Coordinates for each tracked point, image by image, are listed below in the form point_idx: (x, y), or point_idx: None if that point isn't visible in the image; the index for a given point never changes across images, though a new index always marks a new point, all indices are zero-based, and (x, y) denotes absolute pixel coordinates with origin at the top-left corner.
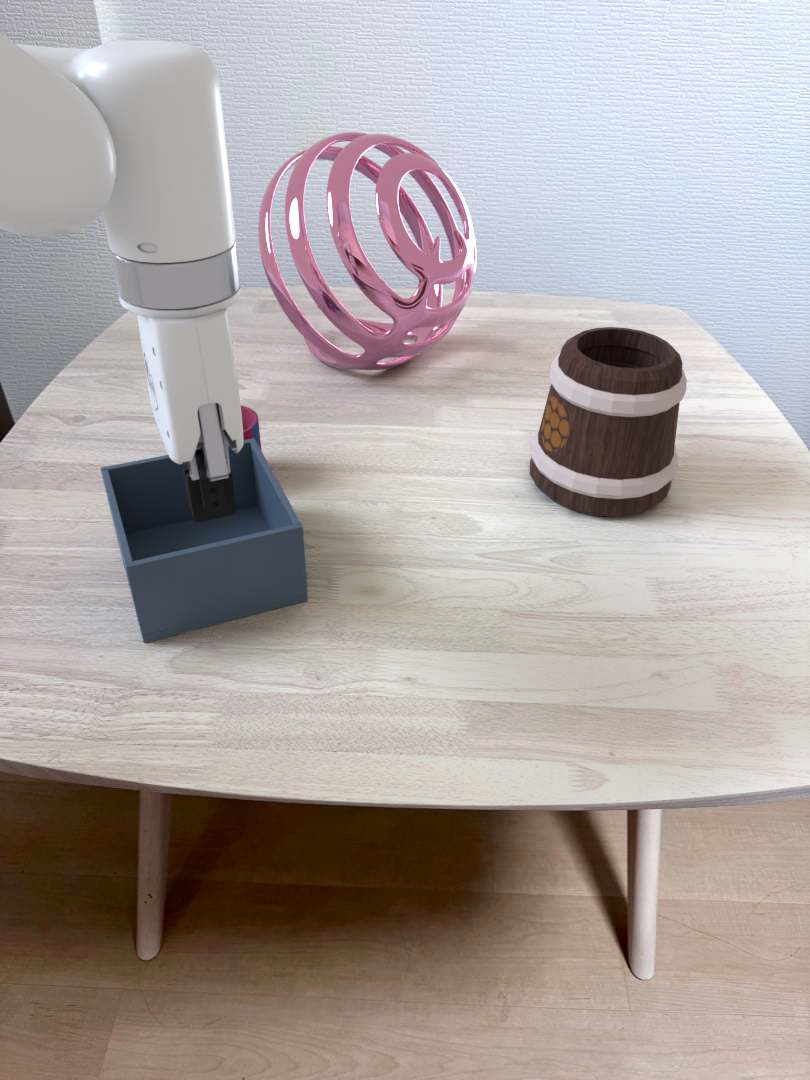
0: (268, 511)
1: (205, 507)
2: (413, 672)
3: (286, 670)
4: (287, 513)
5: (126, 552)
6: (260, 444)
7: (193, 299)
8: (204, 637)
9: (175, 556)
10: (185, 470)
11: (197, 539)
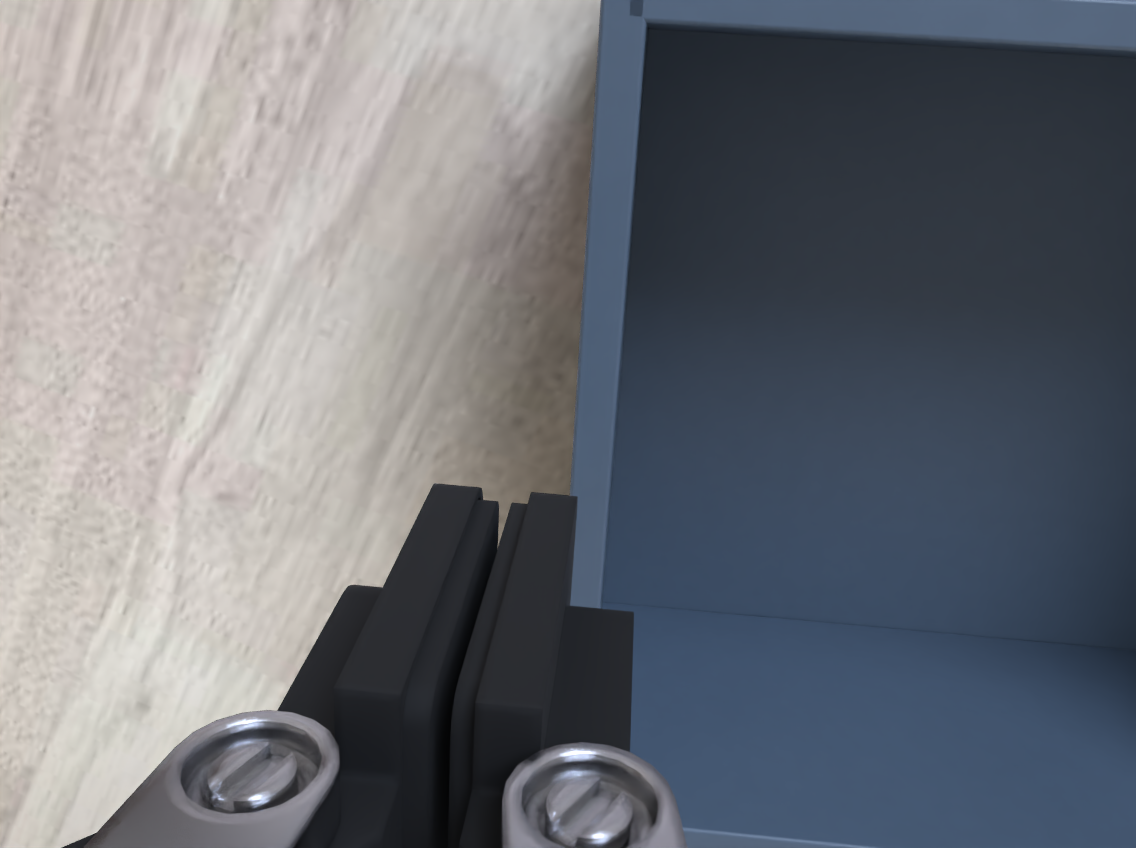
0: (1013, 702)
1: (333, 613)
2: (162, 725)
3: (289, 425)
4: (689, 823)
5: (748, 5)
6: None
7: None
8: (553, 227)
9: (586, 263)
10: (481, 710)
11: (1120, 377)
